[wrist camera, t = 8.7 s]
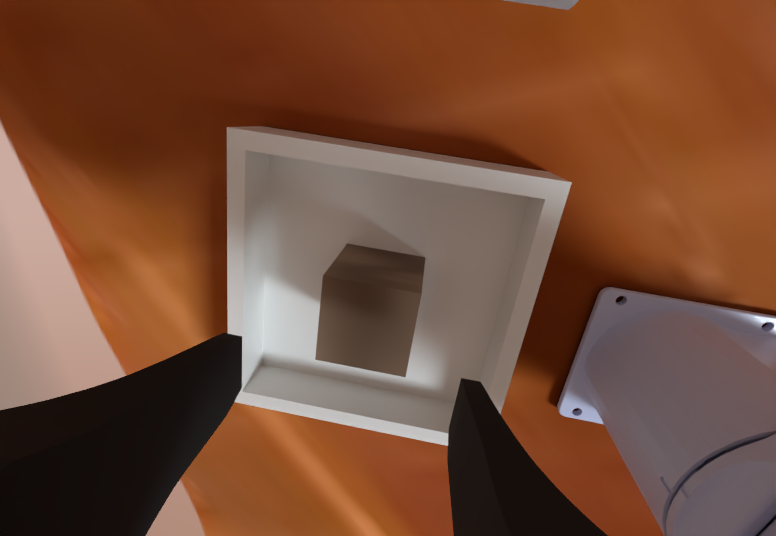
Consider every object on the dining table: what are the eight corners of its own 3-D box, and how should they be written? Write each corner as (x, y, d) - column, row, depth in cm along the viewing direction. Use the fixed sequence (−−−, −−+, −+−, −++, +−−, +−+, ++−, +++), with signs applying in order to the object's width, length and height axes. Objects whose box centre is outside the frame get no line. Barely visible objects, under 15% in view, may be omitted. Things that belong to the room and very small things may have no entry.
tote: (548, 171, 19) (571, 182, 15) (481, 408, 24) (487, 454, 20) (262, 126, 20) (226, 127, 16) (255, 363, 25) (227, 400, 21)
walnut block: (425, 257, 20) (421, 293, 16) (412, 327, 21) (405, 377, 17) (347, 243, 20) (322, 275, 16) (339, 313, 22) (315, 359, 17)
